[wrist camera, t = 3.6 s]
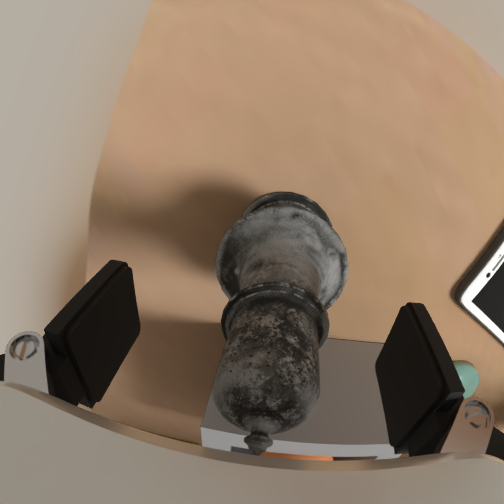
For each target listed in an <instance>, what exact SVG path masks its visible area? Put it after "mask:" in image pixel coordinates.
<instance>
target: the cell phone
mask: <svg viewBox="0 0 504 504" xmlns="http://www.w3.org/2000/svg"><path fill="white" fill-rule="evenodd" d="M455 297H456V299H457V301H458V302H459V304H460V305H461V306H462V307H463V308H464V309H465V310H466V311H467V312H468V313H469V314H470V315H471V316H473V317H474V318H475V319H476V320H477V321H478V322H479V323H480V324H482V325H483V326H484V327H485V328H486V329H487V330H488V331H489V332H490V333H491V334H492V335H493V336H495V337H496V338H497V339H498V340H499V341H500V342H501V343H502V344H503V345H504V227H503V229H502V230H501V232H500V233H499V234H498V236H497V237H496V239H495V240H494V241H493V243H492V244H491V245H490V247H489V248H488V250H487V251H486V252H485V254H484V255H483V256H482V257H481V259H480V260H479V261H478V263H477V264H476V265H475V266H474V268H473V269H472V270H471V271H470V273H469V274H468V275H467V276H466V277H465V279H464V280H463V281H462V282H461V284H460V285H459V286H458V288H457V290H456V292H455ZM477 318H478V319H479V320H480V321H481V322H480V321H479V320H478V319H477Z"/></svg>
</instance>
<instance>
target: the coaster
mask: <svg viewBox="0 0 504 504" xmlns="http://www.w3.org/2000/svg"><path fill="white" fill-rule="evenodd" d="M453 364H454V366H455V368H456V370H457V373H458V375H459V377H460V380H461V382H462V384H463V387H464V389H465V393H464V394H463V397H464V399H466V398H467V397H471V396H472V394H473V393H474V392H475V390H476V388H477V386H478V383H479V375H478V373H477V371H476V368H475V367H474V365H473V364H471V363H470V362H467V361H453Z"/></svg>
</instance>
